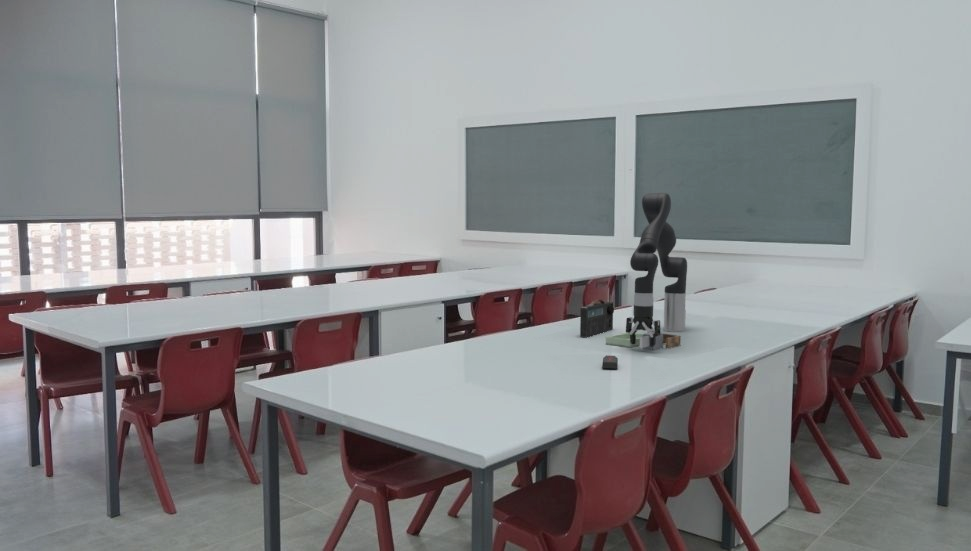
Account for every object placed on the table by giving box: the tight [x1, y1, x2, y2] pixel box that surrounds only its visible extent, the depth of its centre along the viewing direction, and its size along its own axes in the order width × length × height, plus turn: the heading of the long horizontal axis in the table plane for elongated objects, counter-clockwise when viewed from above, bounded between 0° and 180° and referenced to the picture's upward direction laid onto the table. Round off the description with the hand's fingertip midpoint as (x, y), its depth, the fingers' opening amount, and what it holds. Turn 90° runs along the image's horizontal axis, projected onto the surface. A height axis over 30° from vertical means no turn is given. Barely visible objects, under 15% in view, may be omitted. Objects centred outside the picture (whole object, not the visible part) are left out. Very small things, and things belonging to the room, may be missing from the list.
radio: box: [579, 287, 615, 339], centre depth 351 cm, size 25×4×20 cm, turn 145°
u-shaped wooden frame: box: [663, 333, 682, 349], centre depth 321 cm, size 10×10×4 cm
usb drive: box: [601, 355, 619, 370], centre depth 282 cm, size 5×12×3 cm, turn 170°
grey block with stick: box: [639, 332, 664, 351], centre depth 313 cm, size 12×5×6 cm, turn 137°
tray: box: [605, 332, 644, 349], centre depth 326 cm, size 18×12×3 cm, turn 137°
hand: (642, 345), depth 309 cm, fingers open, 8 cm apart
